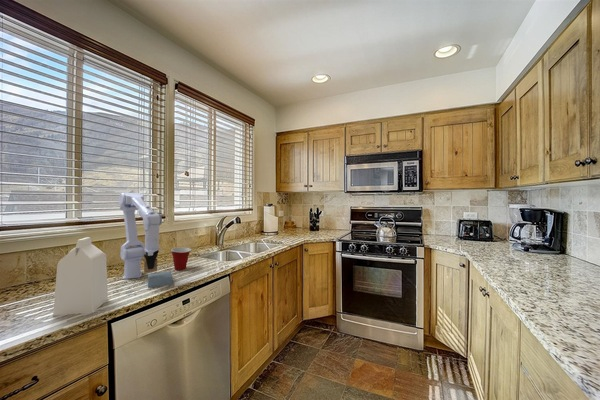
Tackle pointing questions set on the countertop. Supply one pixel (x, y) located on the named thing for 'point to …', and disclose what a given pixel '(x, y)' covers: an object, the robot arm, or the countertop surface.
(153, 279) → the slate block
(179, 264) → the plastic cup
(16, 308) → the countertop surface
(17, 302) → the countertop surface
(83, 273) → the milk
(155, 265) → the walnut cube
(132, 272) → the robot arm
